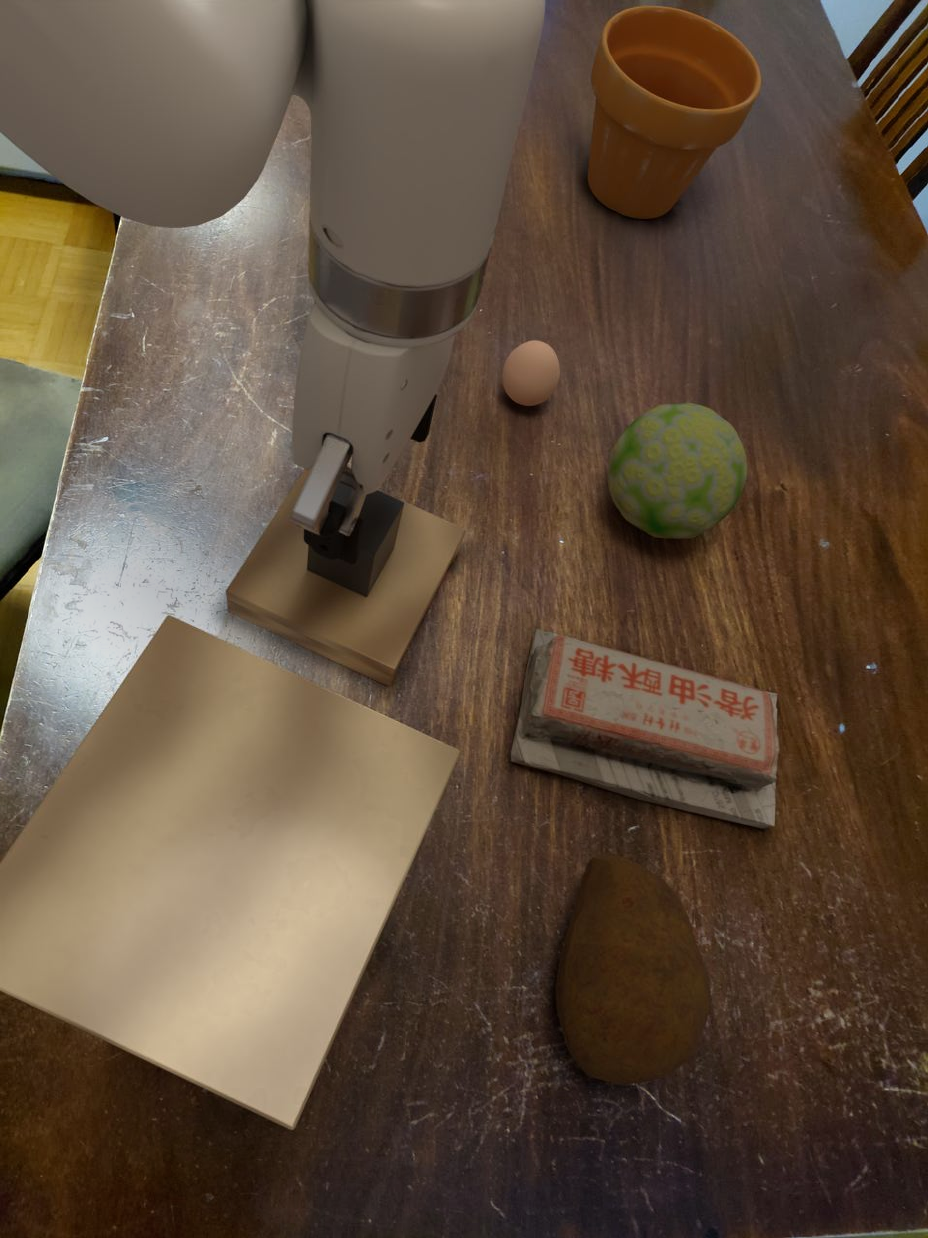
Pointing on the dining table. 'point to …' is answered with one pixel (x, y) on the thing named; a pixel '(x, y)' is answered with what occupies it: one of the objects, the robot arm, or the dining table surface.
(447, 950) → the dining table surface
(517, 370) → the egg
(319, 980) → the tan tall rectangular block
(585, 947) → the potato
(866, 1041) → the dining table surface
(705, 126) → the flower pot
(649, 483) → the decorative ball
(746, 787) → the packaged product
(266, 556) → the tan flat square block
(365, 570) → the block
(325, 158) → the robot arm
